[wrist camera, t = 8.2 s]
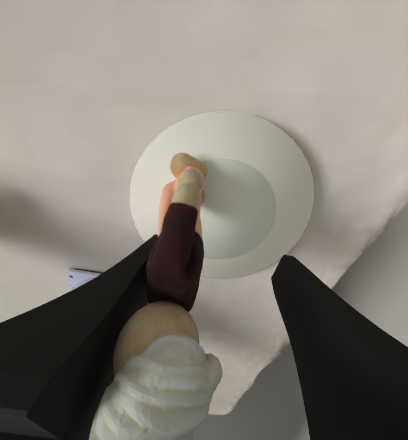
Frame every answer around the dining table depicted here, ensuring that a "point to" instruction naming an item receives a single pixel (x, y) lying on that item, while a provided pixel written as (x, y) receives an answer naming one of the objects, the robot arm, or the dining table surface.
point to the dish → (231, 189)
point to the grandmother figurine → (164, 330)
